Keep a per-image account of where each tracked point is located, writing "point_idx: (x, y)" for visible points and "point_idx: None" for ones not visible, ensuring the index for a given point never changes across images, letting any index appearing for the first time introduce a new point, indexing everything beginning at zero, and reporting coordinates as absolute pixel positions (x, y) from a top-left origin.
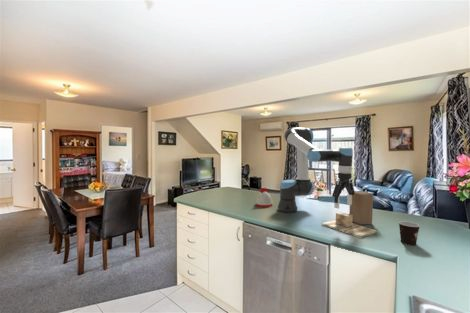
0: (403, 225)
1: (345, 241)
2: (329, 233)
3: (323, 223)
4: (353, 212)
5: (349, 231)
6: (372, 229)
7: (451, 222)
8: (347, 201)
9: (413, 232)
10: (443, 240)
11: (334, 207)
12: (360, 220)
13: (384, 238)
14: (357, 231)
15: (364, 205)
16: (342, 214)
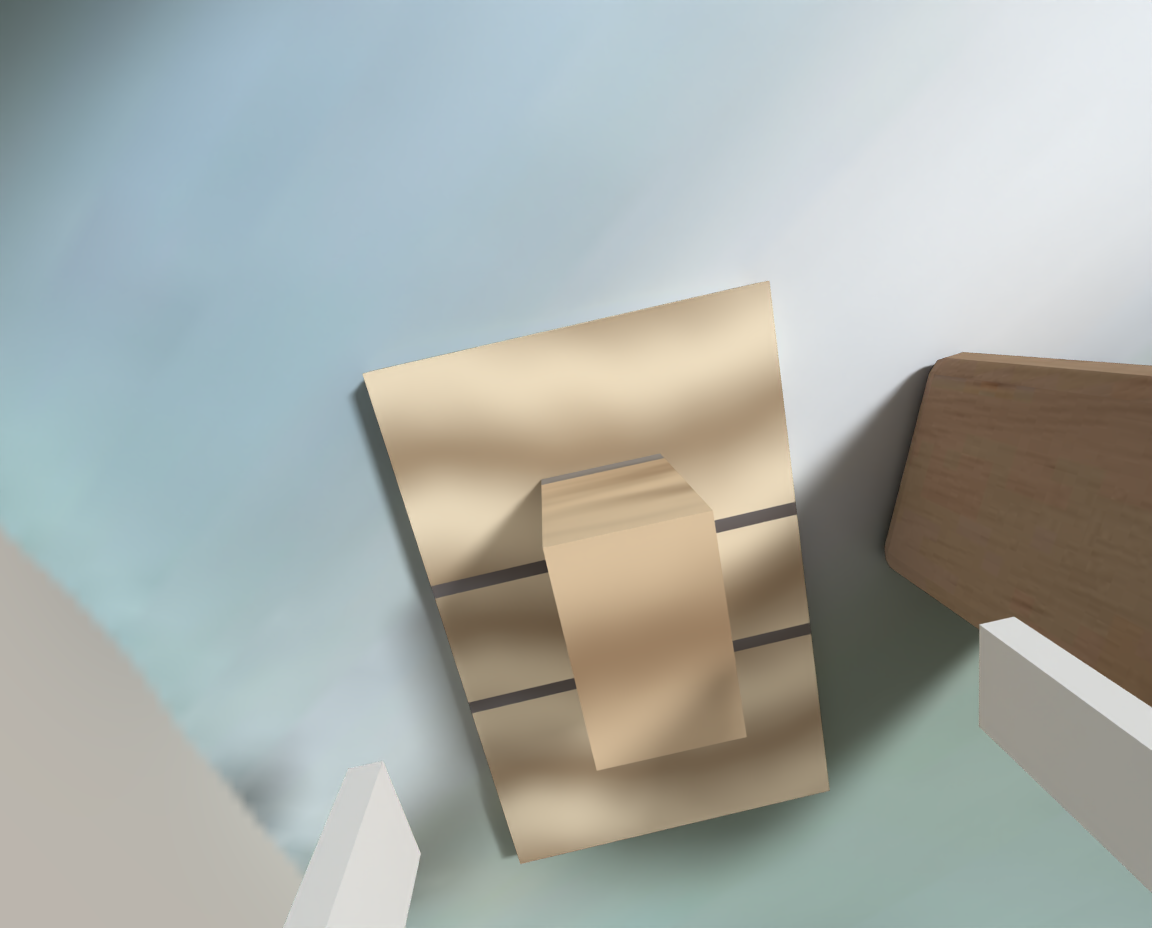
0: None
1: (292, 856)
2: (265, 652)
3: (376, 391)
4: (1033, 487)
5: (502, 739)
6: (816, 764)
7: None
8: (1061, 695)
9: None
10: None
11: (349, 776)
12: (924, 590)
13: (731, 893)
14: (594, 764)
15: None
16: (602, 655)
